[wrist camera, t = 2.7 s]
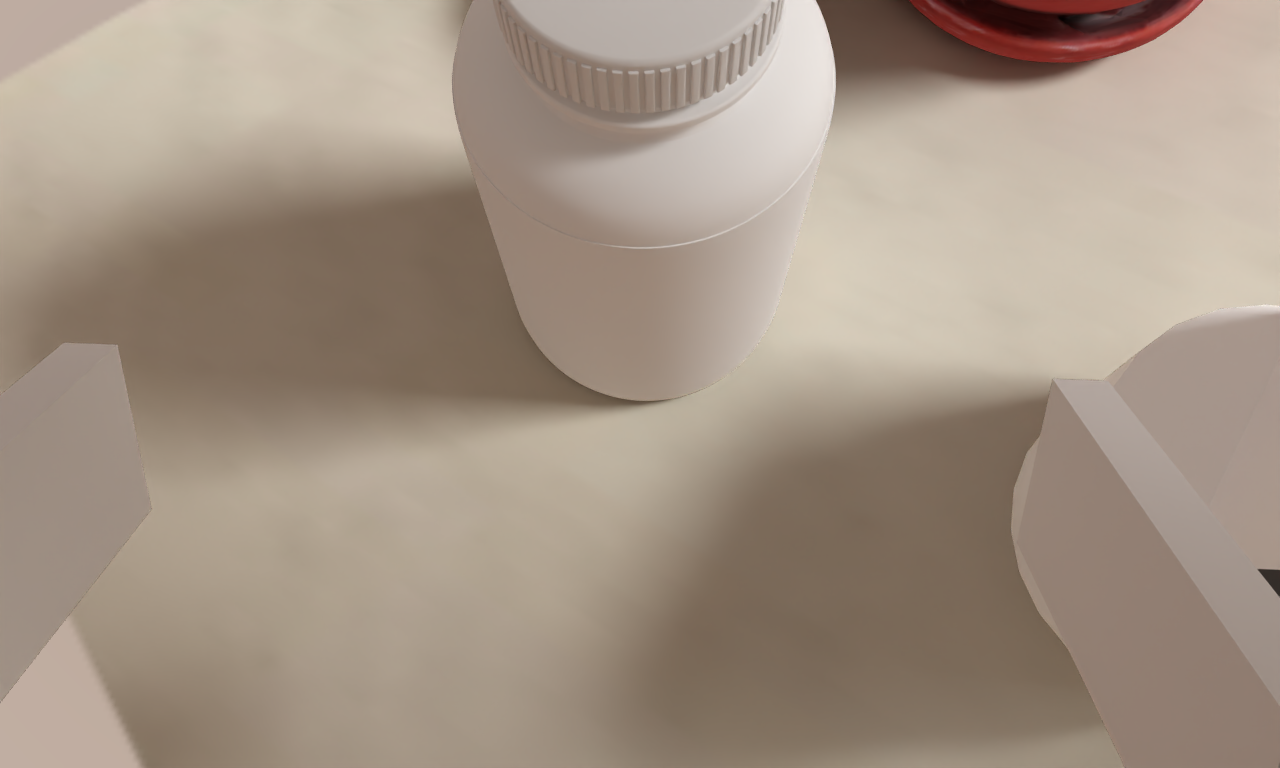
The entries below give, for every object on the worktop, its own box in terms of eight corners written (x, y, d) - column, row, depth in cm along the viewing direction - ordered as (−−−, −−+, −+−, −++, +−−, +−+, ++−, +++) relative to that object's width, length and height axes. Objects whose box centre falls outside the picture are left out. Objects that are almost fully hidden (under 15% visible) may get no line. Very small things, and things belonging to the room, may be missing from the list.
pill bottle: (461, 259, 33) (320, -106, 19) (671, 120, 34) (690, -316, 20) (616, 464, 31) (591, 229, 17) (833, 307, 32) (979, -32, 18)
